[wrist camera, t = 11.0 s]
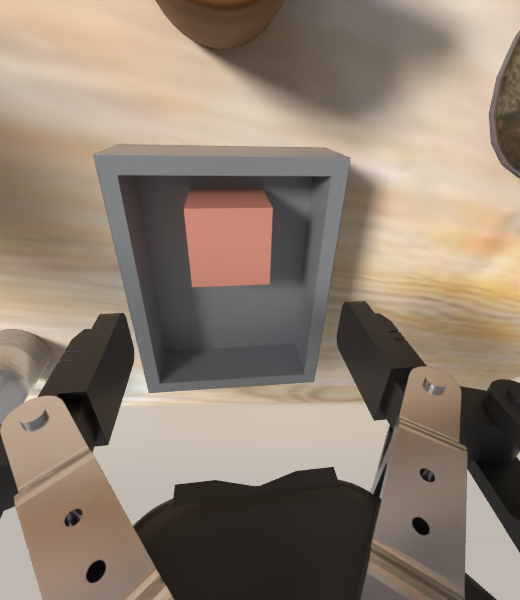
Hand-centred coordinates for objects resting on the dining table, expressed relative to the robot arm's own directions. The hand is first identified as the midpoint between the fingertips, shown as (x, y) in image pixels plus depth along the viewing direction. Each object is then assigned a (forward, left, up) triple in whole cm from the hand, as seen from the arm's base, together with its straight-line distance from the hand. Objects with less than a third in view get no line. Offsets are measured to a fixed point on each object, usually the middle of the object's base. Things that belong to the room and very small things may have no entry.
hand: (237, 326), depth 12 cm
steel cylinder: (+12, -19, -14) cm, 27 cm away
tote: (+4, 0, -14) cm, 15 cm away
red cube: (0, 0, -13) cm, 13 cm away
